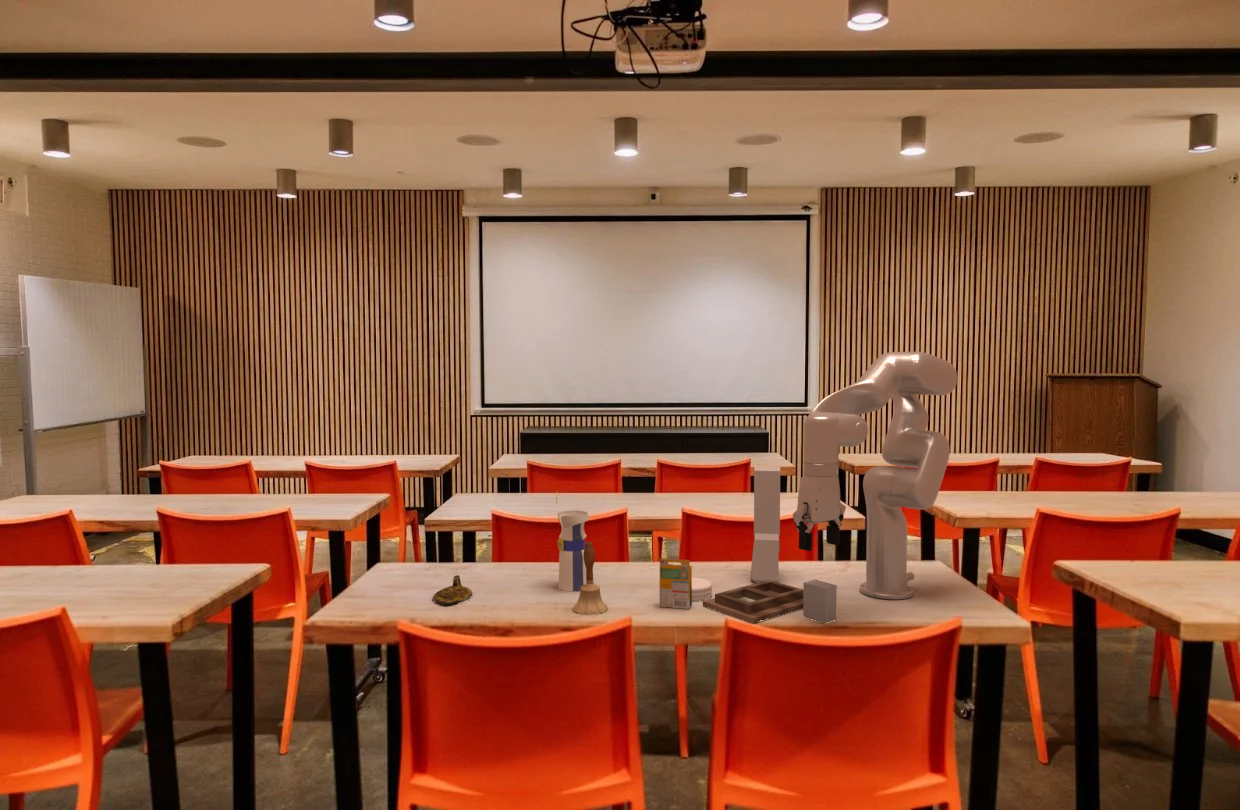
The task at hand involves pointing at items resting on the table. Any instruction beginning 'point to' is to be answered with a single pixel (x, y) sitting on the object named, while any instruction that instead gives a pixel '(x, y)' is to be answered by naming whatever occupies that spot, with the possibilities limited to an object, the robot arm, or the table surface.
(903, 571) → the robot arm
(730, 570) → the table surface
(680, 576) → the crayon box
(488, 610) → the table surface
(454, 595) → the seal
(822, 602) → the grey block
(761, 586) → the tray
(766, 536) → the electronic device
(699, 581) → the white round stack
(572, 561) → the water bottle
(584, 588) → the hand bell
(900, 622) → the table surface
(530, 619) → the table surface
